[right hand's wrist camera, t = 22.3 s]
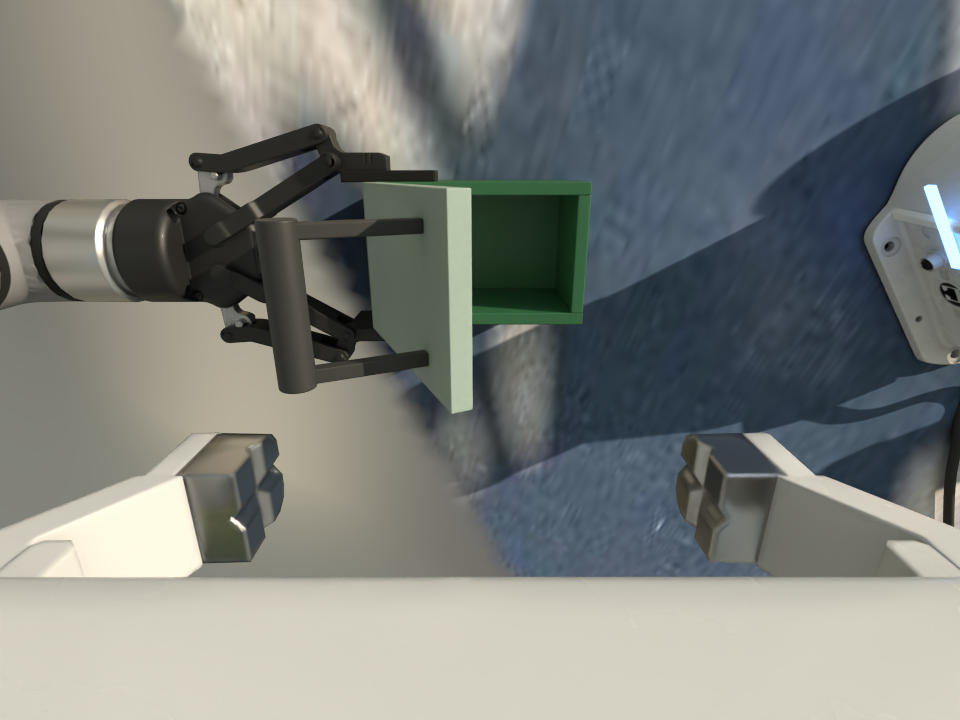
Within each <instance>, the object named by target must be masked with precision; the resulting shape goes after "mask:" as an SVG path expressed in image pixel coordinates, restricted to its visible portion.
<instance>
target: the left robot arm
mask: <svg viewBox="0 0 960 720" xmlns="http://www.w3.org/2000/svg"><path fill="white" fill-rule="evenodd" d="M316 149H317V150H318V152H319V154H320V157H319V158H318V159H316V160H315V161H313V162H312V163H310V164H309V165H307V166H306V167H304V168H302V169H301V170H299V171H298V172H296V173H295V174H293V175H292V176H290V177H289V178H287V179H286V180H284V181H283V182H281V183H280V184H278V185H277V186H275V187H274V188H272V189H271V190H269V191H267V192H266V193H264V194H263V195H261V196H260V197H258V198H257V199H255V200H254V201H252V202H249V203H247V204H245V205H244V206H242V207H240V206H238V205H237V204H235V203H234V202H232V201H231V200H229V199H228V198H226V197H225V196H223V195H222V194H220V189H221V187H222V186H223V185H226V184H229V183H231V182H232V180H233V173H240V172H247V171H250V170H254V169H257V168H260V167H263V166H266V165H269V164H272V163H275V162H278V161H282V160H285V159H288V158H291V157H294V156H297V155H300V154H303V153H306V152H310V151H313V150H316ZM189 164H190V166H191V167H192V169H194V170H196V171H198V178H199V187H200V193H199V194H197V195H196V196H194V197H192V198H190V199H137V200H133V201H129V200H127V199H70V200H57V201H54V200H12V199H0V310H2V309H5V308H9V307H13V306H16V305H20V304H25V303H32V302H57V301H97V302H98V301H99V302H140V301H145V300H146V301H151V302H208V303H211V304H213V305H215V306H217V307H220V308H221V311H222V315H223V319H224V323H225V327H226V328H224V329H223V330H222V331H221V333H220V335H221V338H222V339H223V340H224V341H225V342H227V343H237V342H255V343H259V344H263V345H267V346H271V347H273V346H272V340H271V333H270V326H269V320H267V319H255V315H254V314H253V313H250V312H247V311H243V310H242V309H241V308H240V307H239V305H238V303H240V302H241V301H242V300H243V299H245V298H246V297H247V296H250V297H251V298H253V299H255V300H257V301H259V302H262V303H266V300H265V293H264V286H263V280H262V273H261V266H260V260H259V253H258V246H257V240H256V233H255V226H254V220H256V219H263V218H272V217H274V216H275V215H276V214H277V213H278V212H280V211H282V210H283V209H285V208H286V207H288V206H289V205H291V204H292V203H294V202H295V201H297V200H299V199H300V198H302V197H303V196H305V195H306V194H308V193H309V192H311V191H313V190H314V189H316V188H317V187H319V186H320V185H322V184H323V183H325V182H326V181H328V180H330V179H331V178H333V177H334V176H336V175H337V174H339V173H340V175H341V182H436V181H438V171H436V170H390V156H387V155H385V154H383V153H346V152H344V151H343V150H342V149H341V148H340V146H339V144H338V142H337V139H336V133H335V132H334V130H333V129H332V128H330V127H327V126H324V125H320V124H313V125H310V126H307V127H304V128H301V129H298V130H295V131H292V132H289V133H285V134H282V135H279V136H276V137H273V138H270V139H267V140H264V141H261V142H258V143H255V144H252V145H249V146H246V147H243V148H240V149H237V150H234V151H230V152H227V153H224V154H221V155H220V154H207V153H193V154H191V155H190V157H189ZM306 295H307V294H306ZM307 303H308V311H309V320H310V325H311V326H313V327H315V328H317V329H319V330H321V331H323V332H325V333H327V334H329V335H331V336H328V335H325V334H321V333H317V332H313V331H311V336H312V344H313V353H314V358H316V359H320V360H324V361H328V362H332V363H334V362H341V361H348V359H349V358H350V357H351V355H352V354H353V352H354V350H355V345H356V342H358V341H385V340H384V339H383V338H382V337H381V336H380V334H379V333H378V332H377V331H376V330H375V329H374V328H373V317H372V311H361V312H360V313H359V314H358V315H357V316H356V317H355V318H354V319H353V318H351V317H349V316H347V315H346V314H344V313H342V312H340V311H338V310H336V309H334V308H332V307H330V306H328V305H327V304H325V303H323V302H321V301H319V300H317V299H315V298H313V297H311V296H309V295H307ZM332 336H333V337H332Z"/></svg>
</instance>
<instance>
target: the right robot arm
mask: <svg viewBox="0 0 960 720" xmlns="http://www.w3.org/2000/svg"><path fill="white" fill-rule="evenodd" d="M864 242H865V245H866V247H867V250H868V252H869V254H870V256H871V259H872V261H873V263H874V265H875V268H876V270H877V272H878V274H879V277H880V279H881V281H882V283H883V286H884V288H885V290H886V292H887V295H888V297H889V299H890V301H891V304H892V306H893V308H894V310H895V312H896V315H897V317H898V319H899V321H900V324H901V326H902V328H903V330H904V333H905V335H906V337H907V339H908V342H909V344H910V346H911V348H912V350H913V353H914V355H915V356H916V358H917V359H918V360H920V361H923V362H927V363H932V364H942V365H945V364H959V363H960V114H958V115H956V116H955V117H953V118H952V119H950V120H948V121H947V122H946V123H944V124H943V125H941V126H940V127H939V128H938V129H936V130H935V131H934V132H933V133H932V134H931V135H930V136H929V137H928V138H927V139H926V140H925V141H924V142H923V143H922V144H921V145H920V146H919V148H918V149H917V150H916V151H915V152H914V154H913V155H912V157H911V158H910V159H909V161H908V163H907V164H906V166H905V168H904V169H903V171H902V173H901V175H900V177H899V179H898V182H897V184H896V186H895V189H894V191H893V193H892V196H891V198H890V200H889V201H888V203H887V205H886V206H885V207H884V208H883V209H882V210H881V211H880V212H879V214H878V215H877V216H876V217H875V218H874V219H873V221H872V222H871V223H870V225H869V226H868V228H867V229H866V231H865V234H864ZM886 243H888V247H887V248H886V249H884V247H885V244H886ZM952 352H953V353H952ZM951 353H952V354H951ZM278 456H279V450H278V446H277V440H276V439H275V437H274V436H273V435H272V434H236V433H222V434H221V433H196V434H191V435H190V436H189V437H187V438H186V439H185V440H184V441H183V442H182V443H181V444H180V445H178V446H177V447H176V448H175V449H174V450H173V451H172V452H171V453H169V454H168V455H167V456H166V457H165V458H164V459H163V460H162V461H160V462H159V463H158V464H157V465H156V466H155V467H154V468H153V469H152V470H150V471H149V472H148V473H147V474H146V475H145V476H134V477H132V478H129V479H127V480H124V481H122V482H119V483H116V484H114V485H111V486H109V487H106V488H104V489H101V490H99V491H96V492H94V493H91V494H89V495H86V496H83V497H81V498H78V499H76V500H73V501H71V502H68V503H66V504H63V505H61V506H58V507H56V508H53V509H51V510H48V511H45V512H43V513H40V514H38V515H35V516H33V517H30V518H28V519H25V520H23V521H20V522H17V523H15V524H12V525H10V526H7V527H5V528H2V529H0V720H960V529H957V528H955V527H954V507H955V487H956V478H957V471H958V465H959V460H960V402H959V405H958V408H957V411H956V414H955V417H954V420H953V427H952V436H951V444H950V450H949V456H948V461H947V467H946V474H945V483H944V502H943V523H942V522H940V521H937V520H935V519H932V518H930V517H927V516H924V515H922V514H919V513H917V512H914V511H912V510H909V509H907V508H904V507H902V506H899V505H897V504H894V503H892V502H889V501H887V500H884V499H881V498H879V497H876V496H874V495H871V494H869V493H866V492H864V491H861V490H859V489H856V488H854V487H851V486H849V485H846V484H843V483H841V482H838V481H836V480H833V479H831V478H828V477H826V476H815V475H814V474H813V473H812V472H811V471H810V470H809V469H807V468H806V467H805V466H804V465H803V464H802V463H801V462H800V461H799V460H797V459H796V458H795V457H794V456H793V455H792V454H791V453H790V452H788V451H787V450H786V449H785V448H784V447H783V446H782V445H781V444H779V443H778V442H777V441H776V440H775V439H774V438H773V437H772V436H771V435H769V434H766V433H722V434H691V435H686V437H685V439H684V441H683V444H682V450H681V456H682V457H683V459H684V460H685V462H686V463H687V465H686V466H685V467H684V468H683V469H682V470H681V471H680V472H679V473H678V475H677V484H676V495H677V503H678V507H679V510H680V513H681V514H682V516H683V518H684V520H685V521H686V522H687V523H689V524H691V525H692V526H694V527H695V528H696V532H695V538H696V540H697V542H698V543H699V545H700V547H701V548H702V550H703V552H704V553H705V555H706V557H707V558H708V560H709V562H729V563H757V566H759V567H760V568H761V569H763V570H764V571H765V572H767V573H768V574H769V575H771V576H772V577H188V576H189V575H191V574H192V573H193V572H195V571H196V570H198V569H199V568H200V567H202V566H203V563H230V562H251V560H252V559H253V557H254V555H255V553H256V552H257V550H258V549H259V547H260V545H261V543H262V542H263V540H264V538H265V532H264V528H265V527H266V526H268V525H269V524H271V523H273V522H274V521H275V520H276V518H277V516H278V514H279V512H280V510H281V506H282V502H283V498H284V482H283V475H282V473H281V472H280V471H279V470H278V469H277V468H276V467H275V466H274V465H273V463H274V462H275V460H276V459H277V457H278Z"/></svg>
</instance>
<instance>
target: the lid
mask: <svg viewBox="0 0 960 720" xmlns="http://www.w3.org/2000/svg"><path fill="white" fill-rule="evenodd" d="M362 186H363V200H364V213H365V219H357V220H330V221H302V222H298V221H297V219H295V218H263V219H256V220H254V226H255V233H256V240H257V246H258V253H259V260H260V266H261V273H262V280H263V286H264V293H265V300H266V306H267V313H268V320H269V326H270V333H271V340H272V346H273V353H274V360H275V366H276V373H277V380H278V386H279V390H280V391H281V392H283V393H286V394H299V393H304V392H308V391H310V390H312V389H314V388H315V387H316V386H317V384H318V383H324V382H331V381H337V380H343V379H350V378H356V377H363V376H369V375H375V374H382V373H388V372H394V371H401V370H407V369H411V370H412V371H413V372H414V373H415V374H416V375H417V377H418V378H419V379H420V380H421V381H422V382H423V383H424V384H425V385H426V386H427V388H428V389H429V390H430V391H431V392H432V393H433V394H434V395H435V396H436V398H437V399H438V400H439V401H440V402H441V403H442V404H443V405H444V406H445V408H446V409H447V410H448V411H449V412H450V413H451V414H454V413H459V412H464V411H469V410H472V409H473V397H472V243H471V188H463V187H448V186H432V185H416V184H400V183H384V182H363V183H362ZM350 237H366V239H367V252H368V265H369V278H370V291H371V304H372V317H373V328H374V329H375V330H376V331H377V332H378V333H379V334H380V336H381V337H382V338H383V339H384V340H385V341H386V342H387V343H388V344H389V345H390V347H391V348H392V349H393V350H394V351H395V352H396V353H397V354H390V355H383V356H376V357H369V358H362V359H355V360H348V361H341V362H334V363H327V364H320V365H315V361H314V353H313V344H312V336H311V328H310V320H309V311H308V303H307V295H306V287H305V278H304V270H303V262H302V254H301V245H300V240H310V239H330V238H350Z"/></svg>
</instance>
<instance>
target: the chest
mask: <svg viewBox="0 0 960 720" xmlns="http://www.w3.org/2000/svg"><path fill="white" fill-rule="evenodd" d="M384 183H400V184H416V185H432V186H448V187H463V188H471V243H472V324H582V317H583V303H584V288H585V274H586V260H587V246H588V232H589V218H590V204H591V196H590V195H591V190H592V182H587V181H575V180H438V181H436V182H384Z"/></svg>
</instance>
